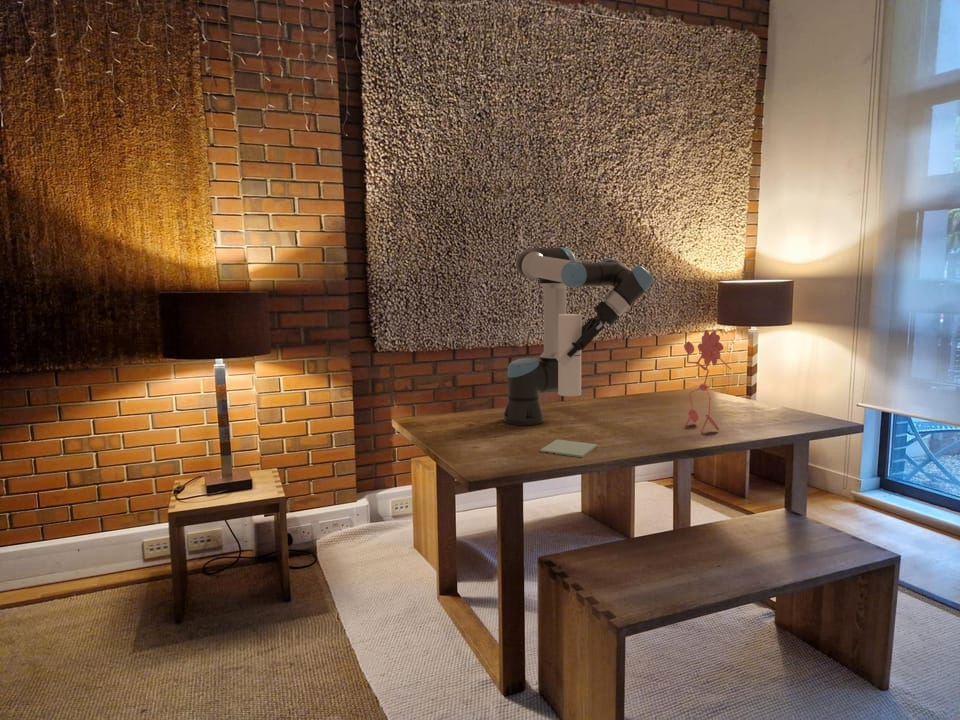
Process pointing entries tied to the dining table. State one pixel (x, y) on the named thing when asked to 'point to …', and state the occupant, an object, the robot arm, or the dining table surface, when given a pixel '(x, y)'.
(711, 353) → the figurine
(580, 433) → the dining table surface
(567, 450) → the rubber mat
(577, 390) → the cylindrical container
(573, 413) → the dining table surface
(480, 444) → the dining table surface
